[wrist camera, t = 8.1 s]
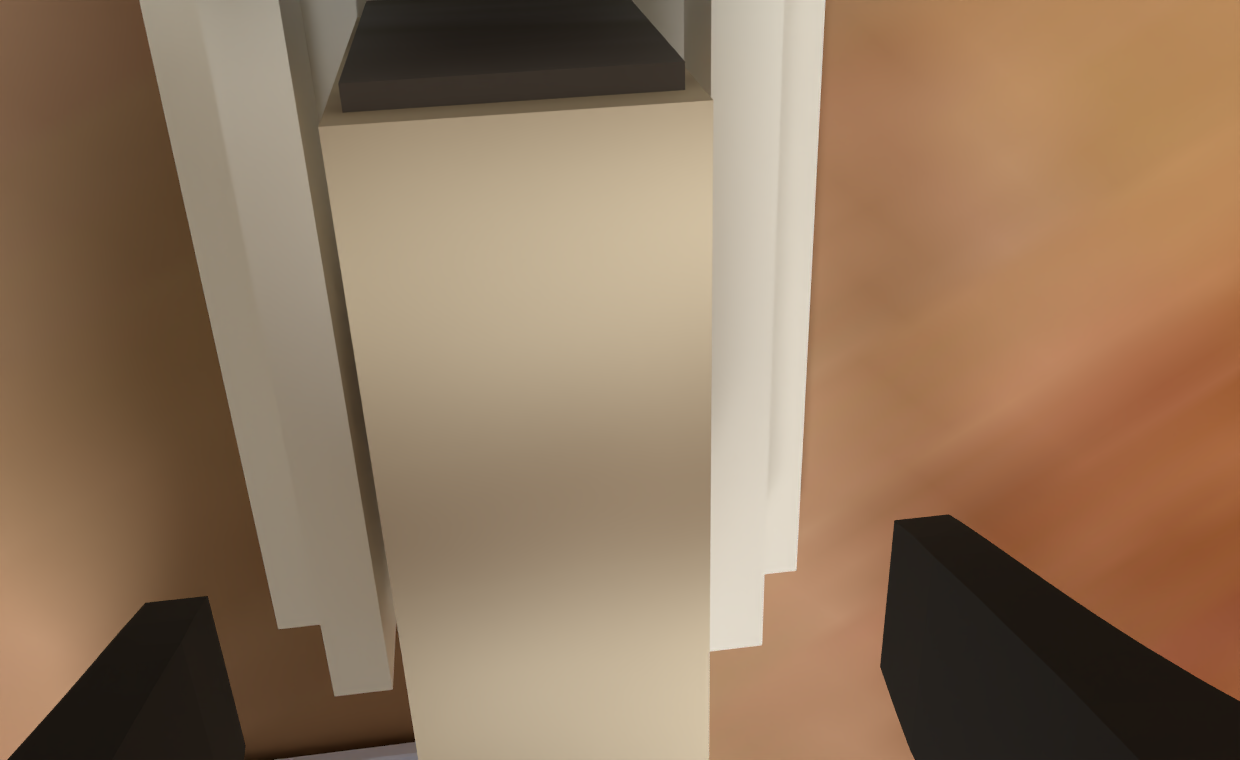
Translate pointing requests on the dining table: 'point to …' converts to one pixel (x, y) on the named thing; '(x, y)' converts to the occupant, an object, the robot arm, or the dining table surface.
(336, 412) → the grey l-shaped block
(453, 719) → the beige and brown block
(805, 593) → the dining table surface
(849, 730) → the dining table surface
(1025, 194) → the dining table surface
